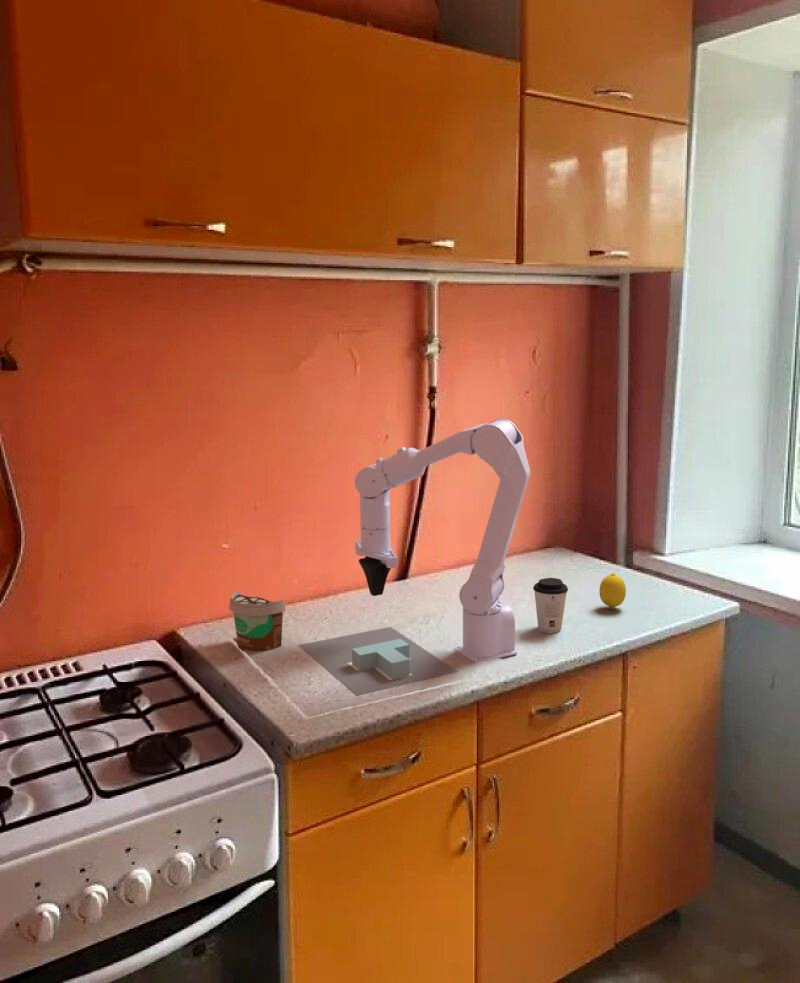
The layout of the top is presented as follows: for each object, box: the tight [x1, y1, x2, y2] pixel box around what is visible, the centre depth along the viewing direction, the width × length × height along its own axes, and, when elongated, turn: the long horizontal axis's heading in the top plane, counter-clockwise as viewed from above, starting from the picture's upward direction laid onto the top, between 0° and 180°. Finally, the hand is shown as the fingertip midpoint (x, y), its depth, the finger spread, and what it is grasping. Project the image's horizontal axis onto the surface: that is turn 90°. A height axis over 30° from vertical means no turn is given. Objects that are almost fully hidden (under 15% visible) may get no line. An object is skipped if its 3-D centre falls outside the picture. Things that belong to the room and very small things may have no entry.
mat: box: [298, 626, 458, 696], centre depth 165 cm, size 20×26×1 cm
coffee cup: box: [532, 577, 569, 634], centre depth 179 cm, size 7×7×10 cm
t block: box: [352, 639, 410, 679], centre depth 160 cm, size 10×10×3 cm
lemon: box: [599, 572, 627, 610], centre depth 190 cm, size 6×6×8 cm
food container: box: [228, 590, 286, 652], centre depth 170 cm, size 12×6×10 cm, turn 56°
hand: (376, 594), depth 173 cm, fingers closed
